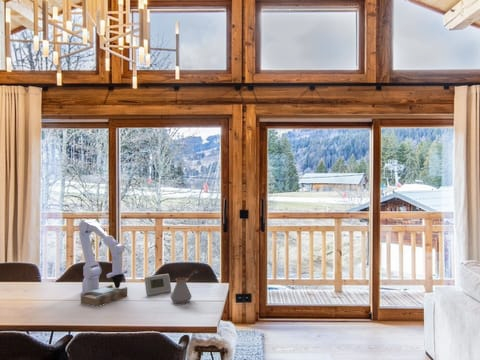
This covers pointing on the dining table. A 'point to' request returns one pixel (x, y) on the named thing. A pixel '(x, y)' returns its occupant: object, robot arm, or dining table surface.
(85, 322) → the dining table surface
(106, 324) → the dining table surface
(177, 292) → the coffee pot
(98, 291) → the lid plate
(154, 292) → the digital clock
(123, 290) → the slide box
